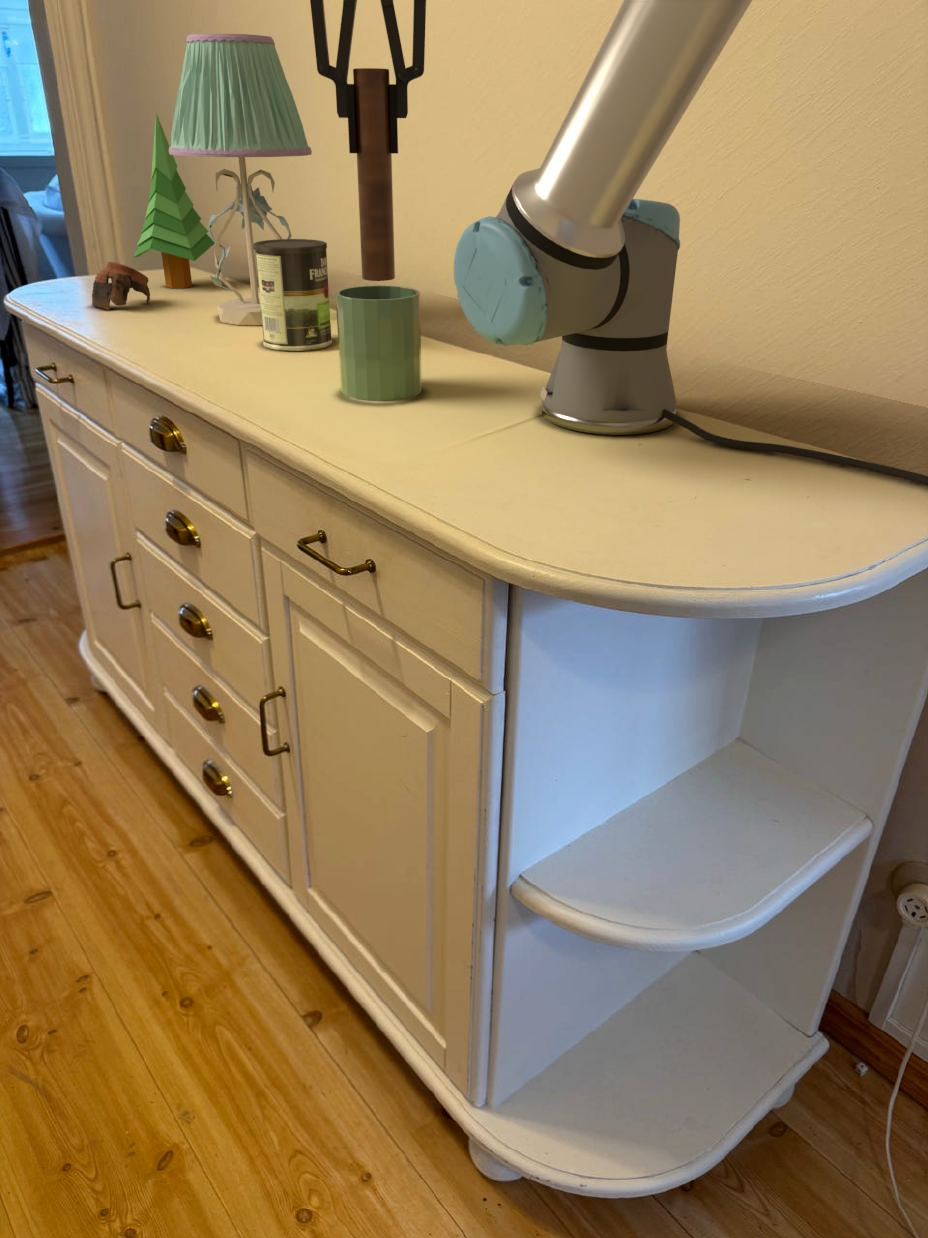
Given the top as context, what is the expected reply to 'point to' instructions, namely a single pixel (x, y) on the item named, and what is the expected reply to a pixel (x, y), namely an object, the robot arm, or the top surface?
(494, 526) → the top surface
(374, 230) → the stick
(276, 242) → the coffee can
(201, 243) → the decorative tree
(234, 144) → the table lamp
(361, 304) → the tin
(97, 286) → the brown arched piece
